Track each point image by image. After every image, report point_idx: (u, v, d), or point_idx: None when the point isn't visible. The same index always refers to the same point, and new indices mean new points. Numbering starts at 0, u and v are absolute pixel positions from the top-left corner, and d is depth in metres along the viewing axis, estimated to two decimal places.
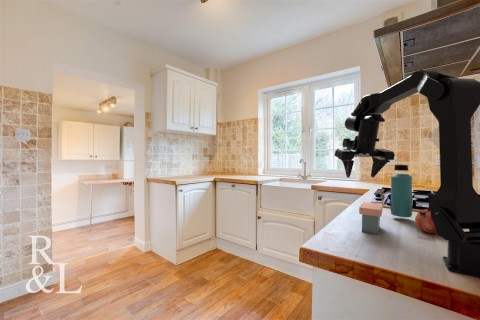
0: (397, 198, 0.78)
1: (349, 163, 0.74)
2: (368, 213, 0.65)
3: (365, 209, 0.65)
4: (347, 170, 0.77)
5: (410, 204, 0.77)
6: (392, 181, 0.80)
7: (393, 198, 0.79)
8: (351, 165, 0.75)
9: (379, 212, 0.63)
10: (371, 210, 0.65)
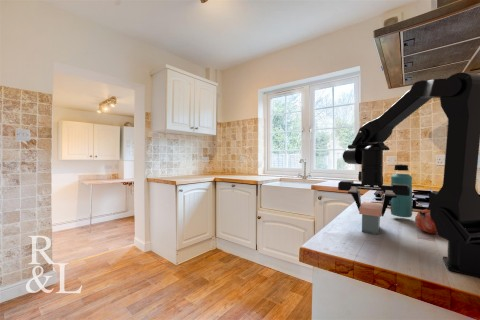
0: (397, 198, 0.78)
1: (353, 195, 0.69)
2: (368, 213, 0.65)
3: (365, 209, 0.65)
4: None
5: (410, 204, 0.77)
6: (392, 181, 0.80)
7: (393, 198, 0.79)
8: (356, 198, 0.69)
9: (379, 212, 0.63)
10: (371, 210, 0.65)
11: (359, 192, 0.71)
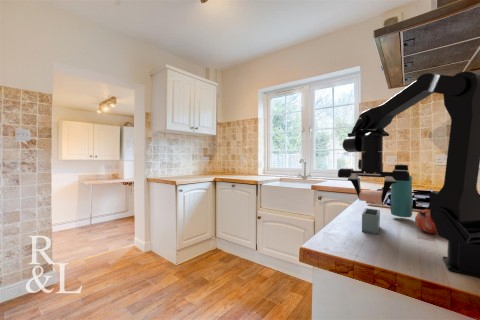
0: (397, 198, 0.78)
1: (352, 182, 0.69)
2: (368, 199, 0.65)
3: (365, 195, 0.65)
4: (356, 191, 0.71)
5: (410, 204, 0.77)
6: None
7: (393, 198, 0.79)
8: (356, 184, 0.69)
9: (379, 198, 0.63)
10: (371, 196, 0.65)
11: (359, 179, 0.72)
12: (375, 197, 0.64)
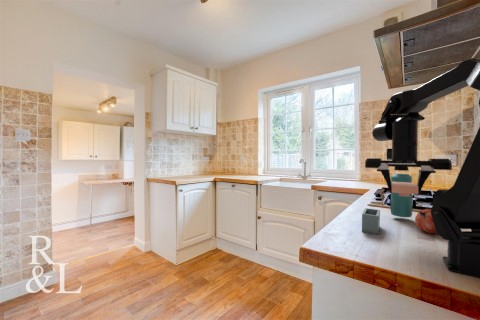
0: (397, 198, 0.78)
1: (383, 173, 0.62)
2: (402, 191, 0.58)
3: (399, 187, 0.58)
4: None
5: (410, 204, 0.77)
6: (392, 181, 0.80)
7: (393, 198, 0.79)
8: (387, 175, 0.62)
9: (416, 189, 0.56)
10: (406, 187, 0.57)
11: None
12: (411, 188, 0.57)
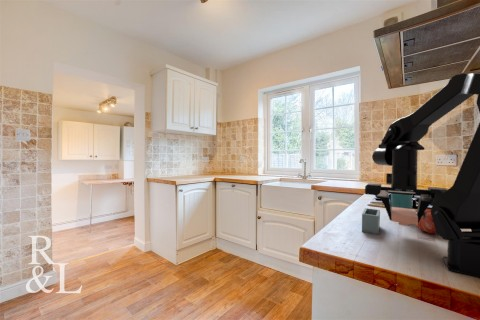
0: (397, 198, 0.78)
1: (382, 200, 0.62)
2: (402, 220, 0.58)
3: (398, 216, 0.58)
4: None
5: (410, 204, 0.77)
6: None
7: (393, 198, 0.79)
8: (387, 203, 0.62)
9: (415, 219, 0.56)
10: (406, 217, 0.57)
11: None
12: (411, 218, 0.57)
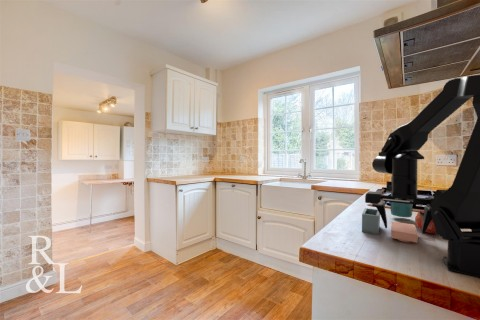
0: (397, 198, 0.78)
1: (378, 208, 0.63)
2: (402, 237, 0.58)
3: (398, 233, 0.58)
4: (382, 218, 0.64)
5: (410, 204, 0.77)
6: None
7: None
8: (382, 211, 0.63)
9: (415, 237, 0.56)
10: (405, 234, 0.58)
11: (384, 204, 0.65)
12: (410, 236, 0.57)
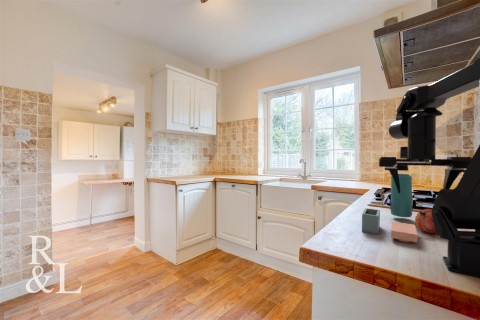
0: (397, 198, 0.78)
1: (391, 171, 0.59)
2: (402, 237, 0.58)
3: (398, 233, 0.58)
4: None
5: (410, 204, 0.77)
6: (392, 181, 0.80)
7: (393, 198, 0.79)
8: (395, 174, 0.59)
9: (415, 237, 0.56)
10: (405, 234, 0.58)
11: None
12: (410, 236, 0.57)
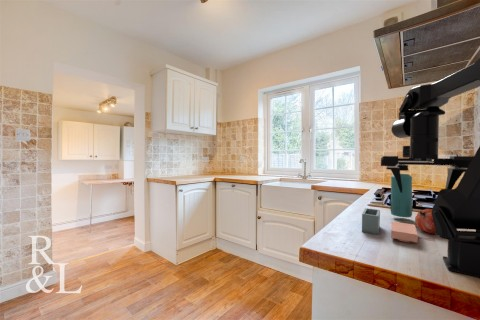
0: (397, 198, 0.78)
1: (393, 171, 0.59)
2: (402, 237, 0.58)
3: (398, 233, 0.58)
4: None
5: (410, 204, 0.77)
6: (392, 181, 0.80)
7: (393, 198, 0.79)
8: (397, 174, 0.59)
9: (415, 237, 0.56)
10: (405, 234, 0.58)
11: None
12: (410, 236, 0.57)
